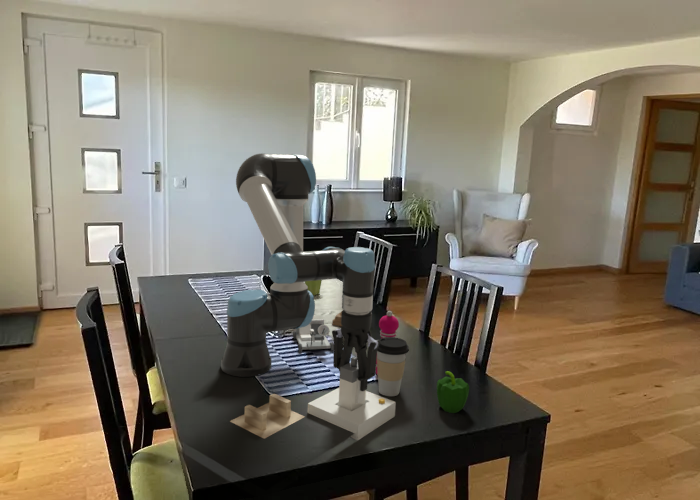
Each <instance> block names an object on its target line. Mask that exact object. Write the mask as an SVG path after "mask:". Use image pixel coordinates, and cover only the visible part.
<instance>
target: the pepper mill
mask: <svg viewBox="0 0 700 500" xmlns="http://www.w3.org/2000/svg"><path fill="white" fill-rule="evenodd" d="M399 327H400V323H399V319H398V318H397V317H396V316H394V315H393V311H391V310H388V311H387V312H386V315H383V316H382V317H381V318H380V319H379V321H378V328H379V329H380V330H379V333H380V334H379V336H380V339H381V338H385V337H395V338H397V333H398V332H397V330H398V329H399ZM375 375H377V376H378V373H377V359H376V370H375Z"/></svg>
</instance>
